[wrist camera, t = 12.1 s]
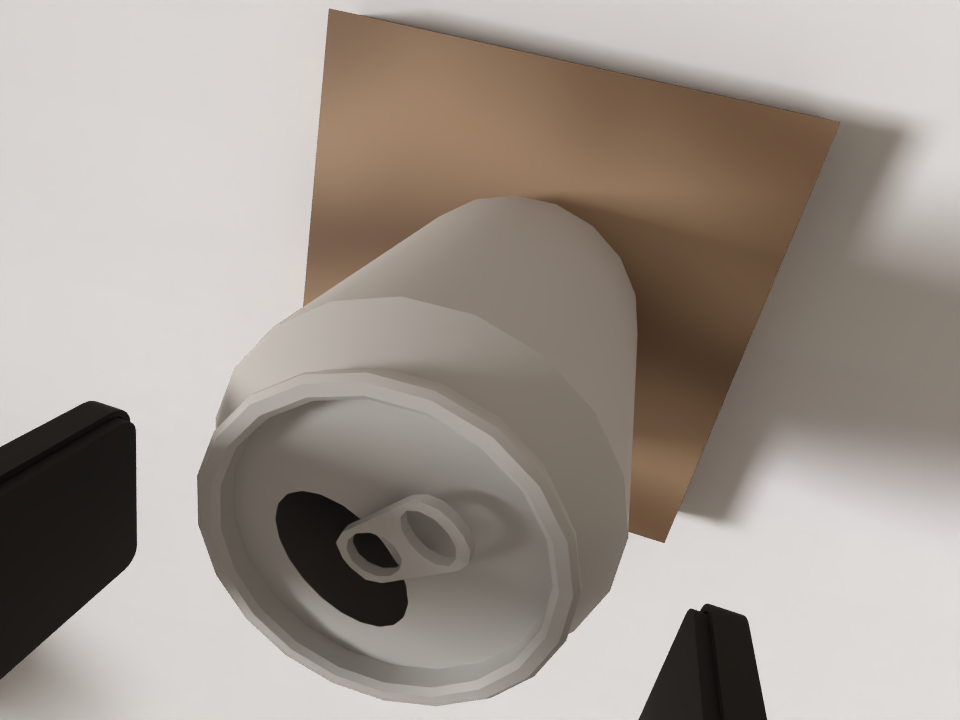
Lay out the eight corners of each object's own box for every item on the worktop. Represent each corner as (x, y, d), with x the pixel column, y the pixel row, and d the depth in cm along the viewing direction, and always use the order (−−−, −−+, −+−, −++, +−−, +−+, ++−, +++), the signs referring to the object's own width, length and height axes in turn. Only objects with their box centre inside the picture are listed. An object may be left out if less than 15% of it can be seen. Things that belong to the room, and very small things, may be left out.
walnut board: (663, 508, 24) (664, 542, 23) (317, 402, 26) (292, 426, 24) (821, 118, 18) (840, 122, 17) (357, 14, 20) (329, 8, 18)
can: (358, 273, 21) (64, 472, 11) (552, 137, 18) (414, 223, 8) (487, 451, 23) (343, 784, 12) (685, 353, 20) (727, 680, 9)
